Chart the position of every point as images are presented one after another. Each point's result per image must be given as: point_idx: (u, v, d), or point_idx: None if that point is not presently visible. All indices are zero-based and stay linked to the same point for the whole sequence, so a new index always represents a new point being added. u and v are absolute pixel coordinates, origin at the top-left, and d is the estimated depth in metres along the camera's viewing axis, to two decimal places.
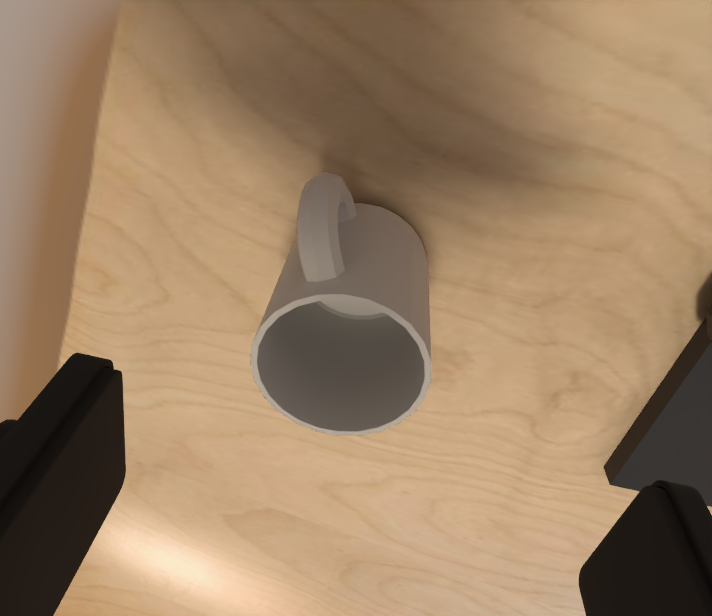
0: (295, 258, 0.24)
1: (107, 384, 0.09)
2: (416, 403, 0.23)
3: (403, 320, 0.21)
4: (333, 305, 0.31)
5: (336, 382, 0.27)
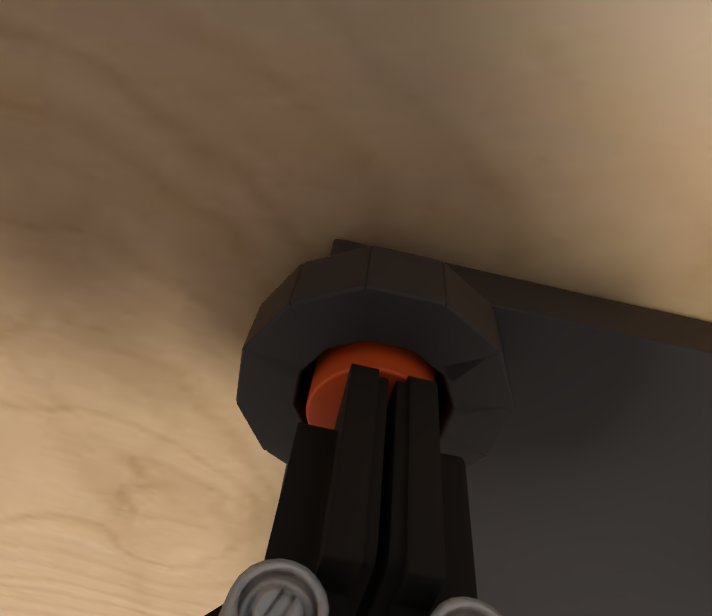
0: None
1: (387, 391, 0.10)
2: None
3: None
4: None
5: None
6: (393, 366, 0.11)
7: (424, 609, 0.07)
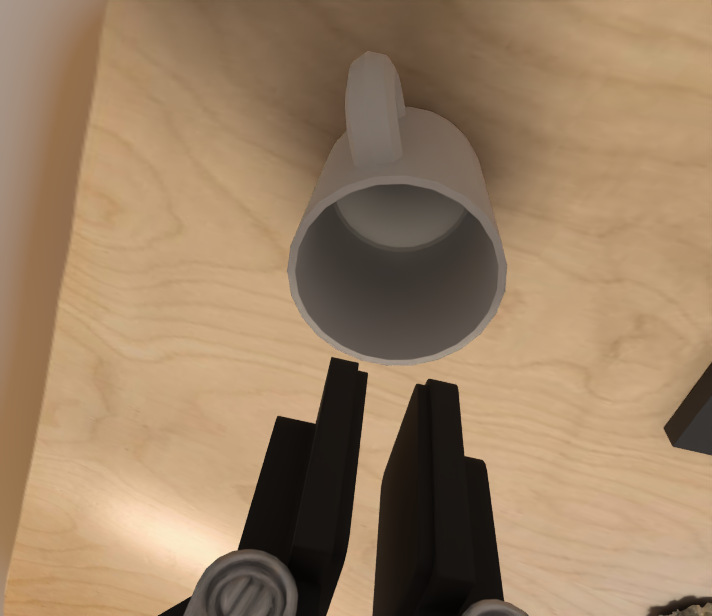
0: (337, 157, 0.21)
1: (366, 385, 0.10)
2: (484, 322, 0.19)
3: (477, 210, 0.17)
4: (370, 235, 0.27)
5: (379, 311, 0.23)
6: None
7: (452, 611, 0.07)
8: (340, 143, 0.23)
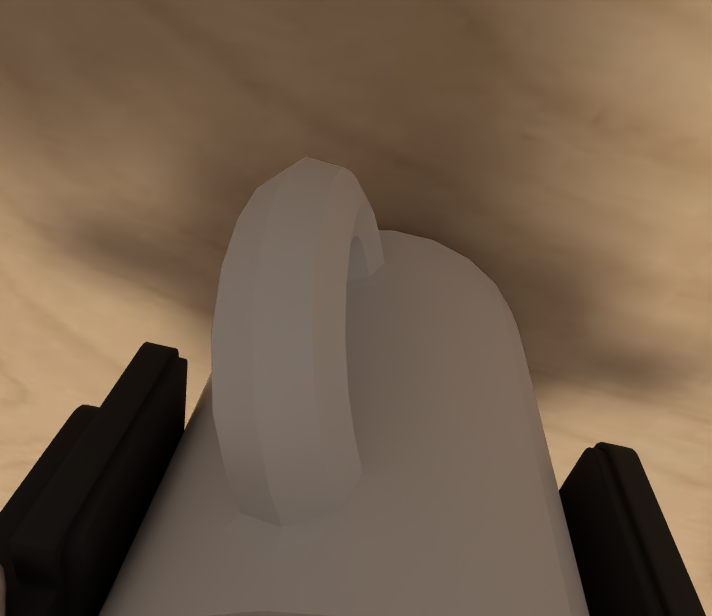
0: None
1: (177, 371, 0.09)
2: None
3: None
4: None
5: None
6: None
7: None
8: None
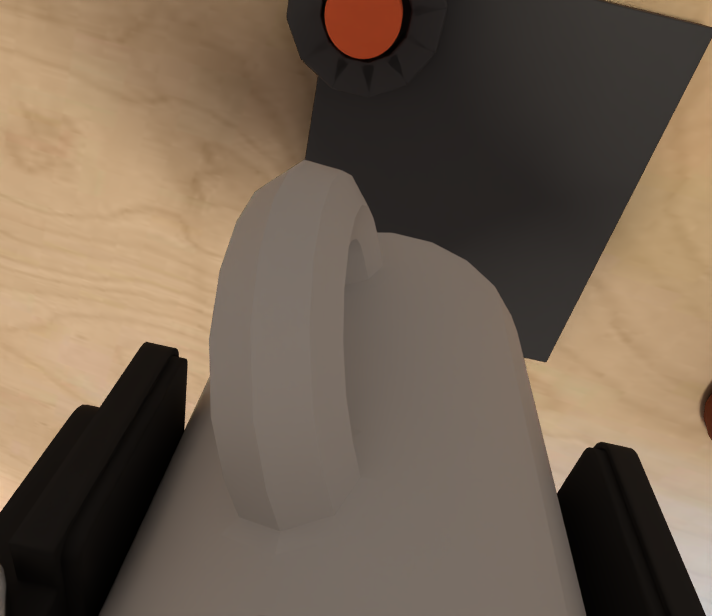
0: None
1: (177, 371, 0.09)
2: None
3: None
4: None
5: None
6: None
7: None
8: None
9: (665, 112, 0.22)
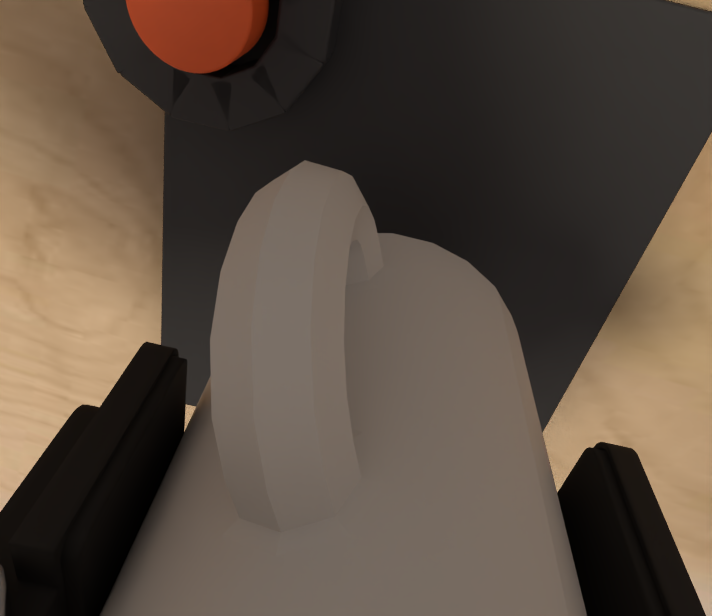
0: None
1: (177, 371, 0.09)
2: None
3: None
4: None
5: None
6: None
7: None
8: None
9: (686, 153, 0.15)
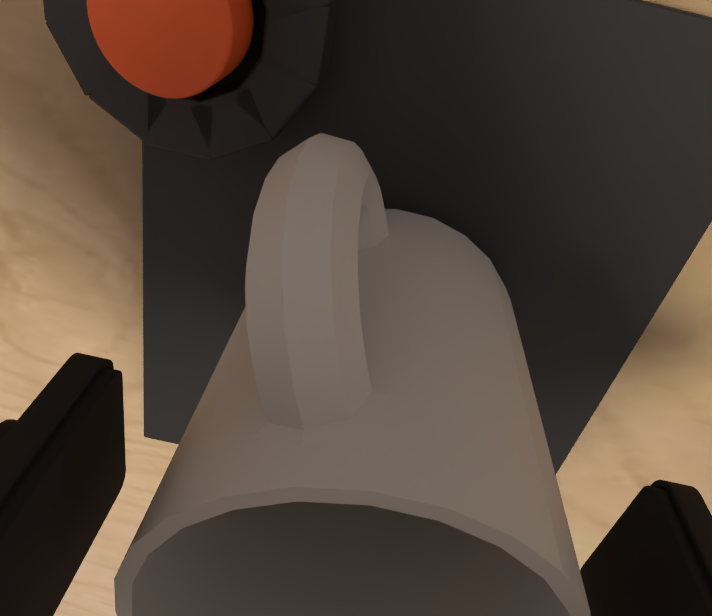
0: None
1: (107, 384, 0.09)
2: None
3: (543, 562, 0.07)
4: None
5: (331, 575, 0.13)
6: None
7: None
8: None
9: None
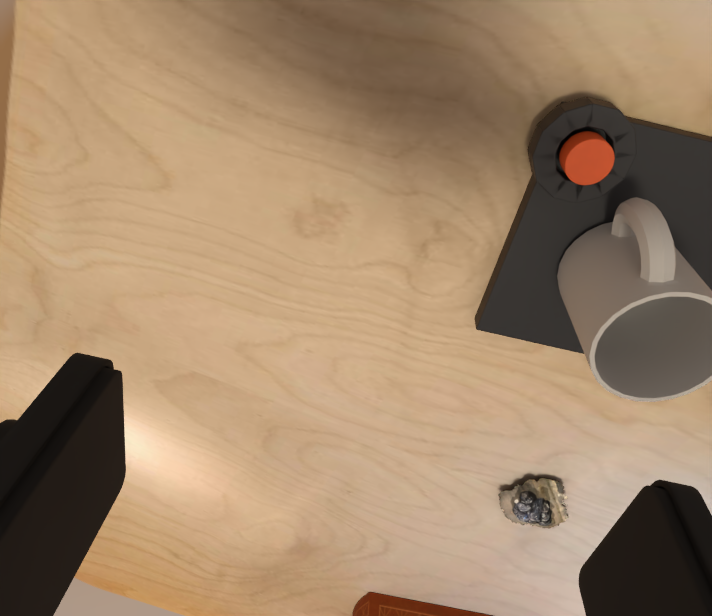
0: (607, 263, 0.32)
1: (107, 384, 0.09)
2: (711, 377, 0.30)
3: None
4: None
5: (614, 361, 0.34)
6: (601, 139, 0.30)
7: None
8: (594, 248, 0.33)
9: None
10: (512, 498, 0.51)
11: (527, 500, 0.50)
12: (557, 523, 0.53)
